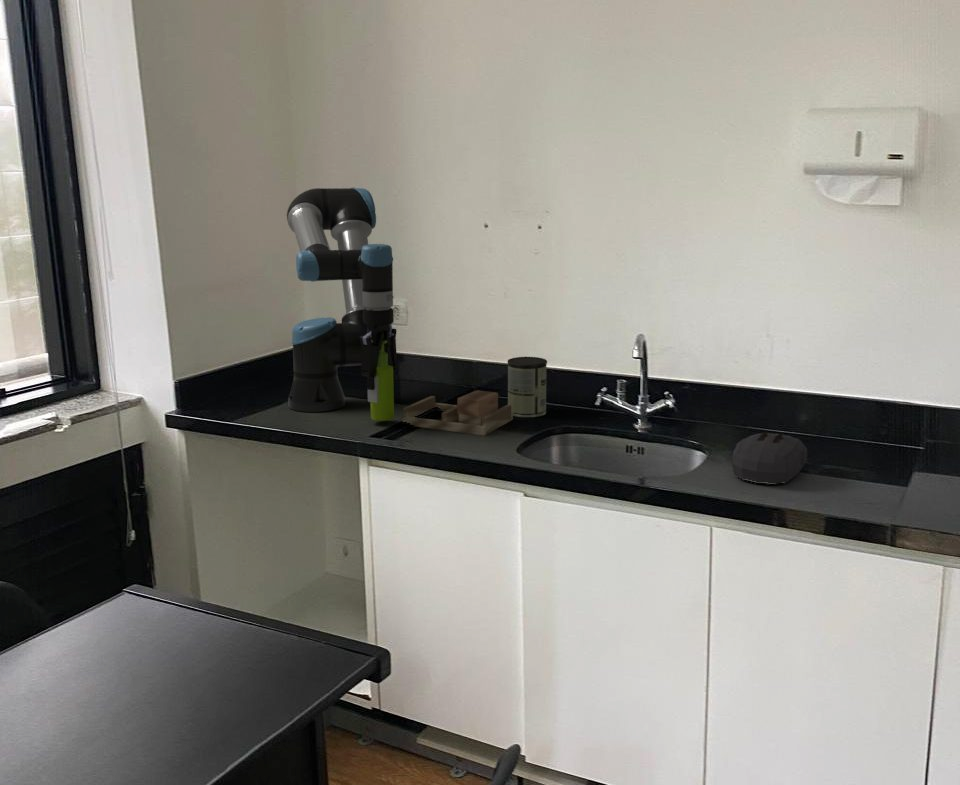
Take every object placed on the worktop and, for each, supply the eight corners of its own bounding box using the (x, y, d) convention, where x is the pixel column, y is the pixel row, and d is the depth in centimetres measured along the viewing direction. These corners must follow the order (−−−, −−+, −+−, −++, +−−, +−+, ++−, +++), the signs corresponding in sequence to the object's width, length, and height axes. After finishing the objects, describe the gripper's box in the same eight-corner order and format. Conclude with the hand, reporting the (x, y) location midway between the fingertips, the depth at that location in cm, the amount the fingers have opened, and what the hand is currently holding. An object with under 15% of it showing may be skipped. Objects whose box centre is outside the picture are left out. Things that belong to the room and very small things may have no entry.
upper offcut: (457, 413, 251) (457, 398, 250) (477, 405, 260) (477, 390, 259) (478, 416, 248) (478, 401, 248) (497, 408, 257) (498, 392, 256)
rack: (401, 424, 256) (401, 409, 255) (433, 409, 270) (433, 395, 269) (484, 435, 246) (484, 419, 245) (512, 419, 260) (512, 404, 259)
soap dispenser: (372, 413, 260) (370, 336, 256) (397, 415, 258) (396, 338, 254) (363, 419, 255) (361, 341, 250) (388, 421, 253) (386, 342, 248)
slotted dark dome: (743, 457, 229) (719, 481, 212) (746, 421, 227) (721, 443, 210) (812, 466, 222) (792, 493, 205) (815, 430, 220) (795, 453, 203)
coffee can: (508, 407, 273) (508, 356, 270) (546, 408, 272) (547, 356, 269) (505, 417, 263) (506, 363, 260) (545, 418, 262) (546, 364, 259)
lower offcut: (458, 429, 252) (458, 414, 251) (476, 420, 261) (476, 405, 260) (480, 432, 250) (480, 416, 249) (497, 422, 258) (497, 407, 257)
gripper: (370, 314, 240) (373, 409, 246) (410, 303, 257) (411, 392, 262) (344, 312, 243) (346, 405, 249) (384, 301, 260) (386, 389, 265)
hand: (380, 398), depth 256 cm, fingers closed on soap dispenser, 6 cm apart
